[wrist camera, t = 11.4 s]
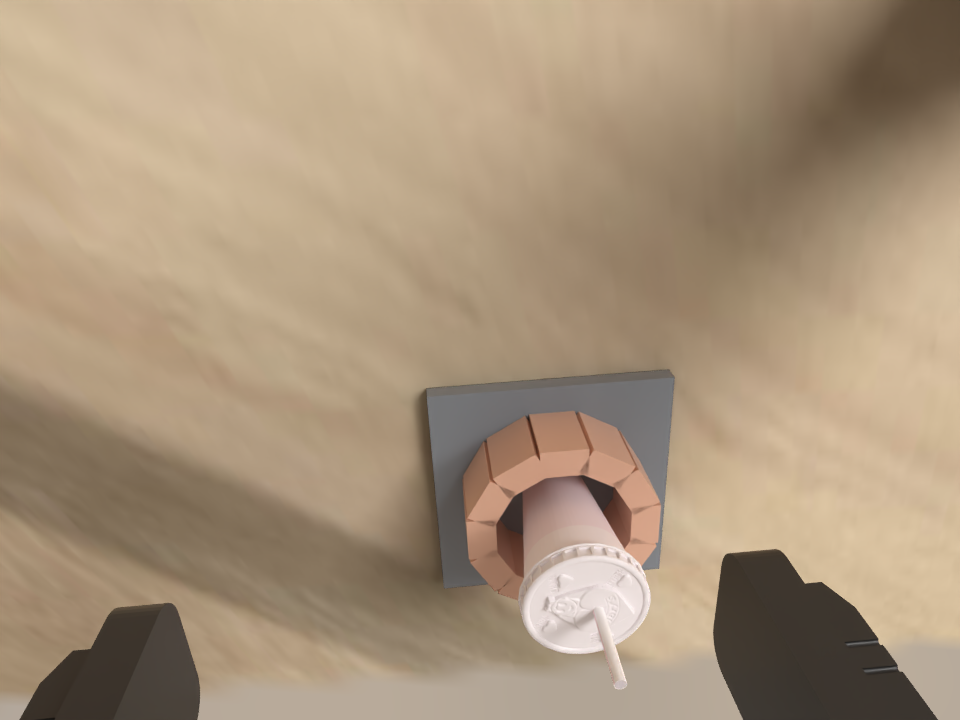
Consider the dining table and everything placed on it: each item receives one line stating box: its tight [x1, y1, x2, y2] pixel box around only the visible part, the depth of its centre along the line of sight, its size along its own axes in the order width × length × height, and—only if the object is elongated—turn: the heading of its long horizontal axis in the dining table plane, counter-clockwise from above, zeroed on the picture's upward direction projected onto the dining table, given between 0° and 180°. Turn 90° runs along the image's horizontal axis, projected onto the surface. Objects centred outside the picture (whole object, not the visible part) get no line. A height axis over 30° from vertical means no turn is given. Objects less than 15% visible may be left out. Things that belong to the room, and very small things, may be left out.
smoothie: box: [518, 475, 651, 689], centre depth 37 cm, size 6×6×14 cm
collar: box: [426, 370, 675, 600], centre depth 42 cm, size 14×14×5 cm
